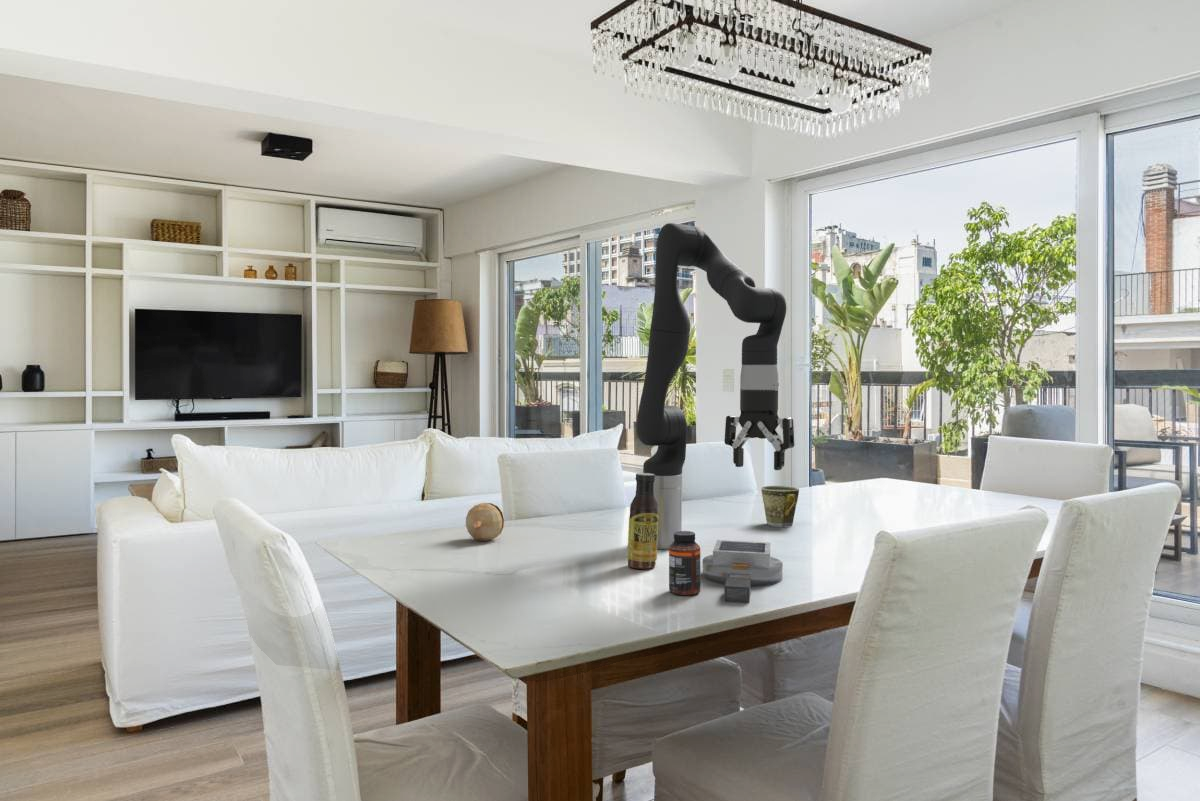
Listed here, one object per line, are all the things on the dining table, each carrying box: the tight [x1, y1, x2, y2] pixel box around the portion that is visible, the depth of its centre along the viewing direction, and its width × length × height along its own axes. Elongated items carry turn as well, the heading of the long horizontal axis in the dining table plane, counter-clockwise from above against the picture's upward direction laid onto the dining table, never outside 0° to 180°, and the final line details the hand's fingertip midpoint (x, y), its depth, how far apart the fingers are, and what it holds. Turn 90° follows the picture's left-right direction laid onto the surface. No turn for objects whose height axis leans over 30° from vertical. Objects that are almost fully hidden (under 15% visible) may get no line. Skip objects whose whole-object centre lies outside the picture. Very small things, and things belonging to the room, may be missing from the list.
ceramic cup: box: [761, 485, 800, 528], centre depth 224 cm, size 13×10×10 cm
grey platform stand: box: [702, 539, 784, 604], centre depth 163 cm, size 16×28×6 cm, turn 168°
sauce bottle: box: [627, 472, 658, 570], centre depth 176 cm, size 7×6×20 cm
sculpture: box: [465, 502, 505, 542], centre depth 202 cm, size 9×9×15 cm
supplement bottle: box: [668, 530, 701, 596], centre depth 156 cm, size 6×6×11 cm
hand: (758, 468), depth 167 cm, fingers open, 8 cm apart
